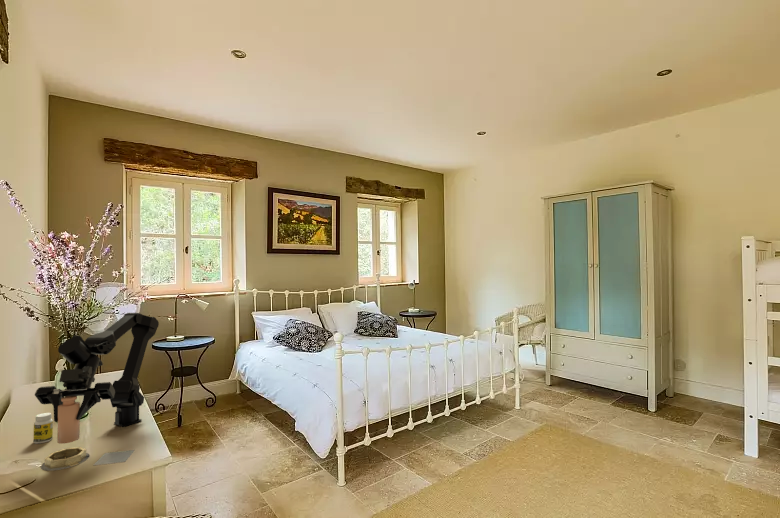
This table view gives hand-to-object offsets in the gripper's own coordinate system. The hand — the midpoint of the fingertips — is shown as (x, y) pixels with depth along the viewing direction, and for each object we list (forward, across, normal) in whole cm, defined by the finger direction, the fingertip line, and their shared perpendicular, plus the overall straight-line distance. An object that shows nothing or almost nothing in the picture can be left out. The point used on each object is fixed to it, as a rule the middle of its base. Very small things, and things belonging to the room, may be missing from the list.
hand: (66, 420), depth 117 cm
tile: (+9, +12, +9) cm, 17 cm away
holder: (+8, -1, +10) cm, 13 cm away
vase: (+3, 0, +5) cm, 6 cm away
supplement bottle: (-6, -16, +24) cm, 30 cm away
